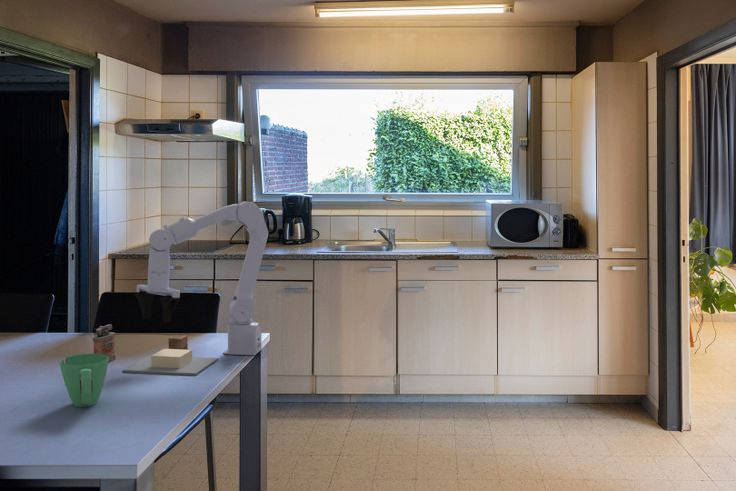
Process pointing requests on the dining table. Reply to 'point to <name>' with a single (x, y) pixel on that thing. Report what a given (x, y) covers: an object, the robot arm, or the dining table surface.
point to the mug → (84, 377)
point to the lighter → (105, 342)
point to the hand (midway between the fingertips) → (156, 320)
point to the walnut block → (178, 342)
